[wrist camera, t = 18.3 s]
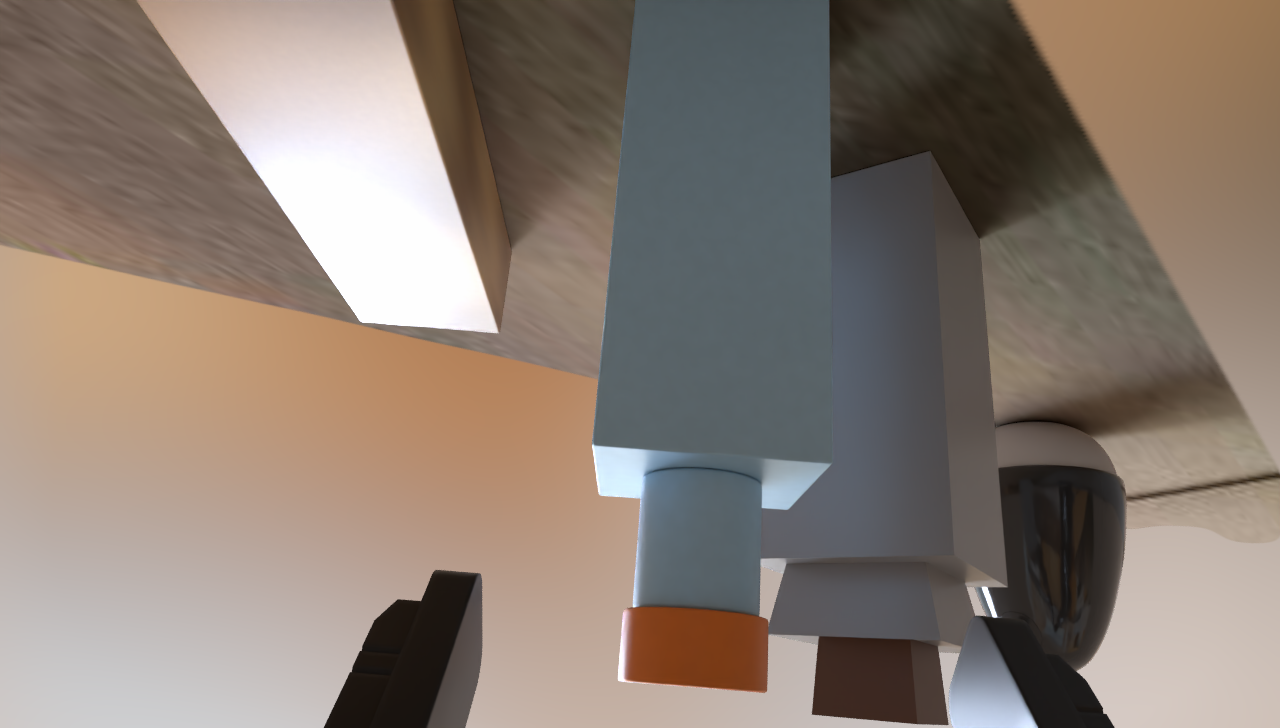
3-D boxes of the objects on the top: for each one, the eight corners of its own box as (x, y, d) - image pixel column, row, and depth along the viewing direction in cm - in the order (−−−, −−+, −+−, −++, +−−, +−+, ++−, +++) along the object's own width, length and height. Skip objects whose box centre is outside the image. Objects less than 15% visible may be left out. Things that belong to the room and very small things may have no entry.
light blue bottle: (636, 91, 27) (638, -35, 22) (793, 102, 27) (829, -21, 22) (581, 678, 20) (569, 677, 16) (786, 694, 20) (835, 698, 16)
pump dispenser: (1048, 396, 49) (1077, 671, 44) (1150, 433, 54) (1188, 685, 48) (913, 431, 57) (923, 666, 52) (1012, 461, 62) (1030, 679, 57)
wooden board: (89, -303, 17) (21, -162, 15) (388, -278, 17) (348, -135, 15) (377, 240, 37) (360, 322, 36) (512, 251, 37) (499, 333, 36)
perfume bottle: (979, 240, 33) (1019, 730, 27) (820, 274, 37) (821, 712, 31) (930, 150, 28) (964, 729, 22) (750, 200, 32) (734, 708, 26)
